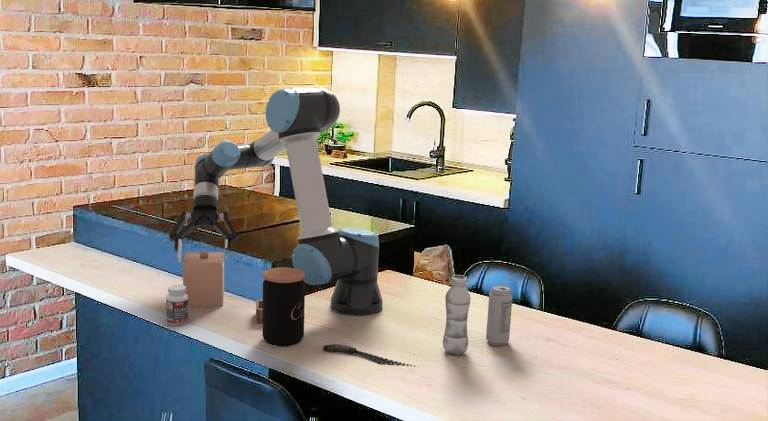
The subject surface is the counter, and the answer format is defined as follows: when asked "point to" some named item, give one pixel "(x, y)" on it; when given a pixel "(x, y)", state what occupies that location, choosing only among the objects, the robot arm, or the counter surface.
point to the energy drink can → (499, 315)
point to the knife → (360, 354)
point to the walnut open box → (259, 311)
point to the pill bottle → (177, 305)
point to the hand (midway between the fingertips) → (202, 260)
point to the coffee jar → (283, 306)
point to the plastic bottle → (456, 316)
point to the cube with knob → (204, 278)
